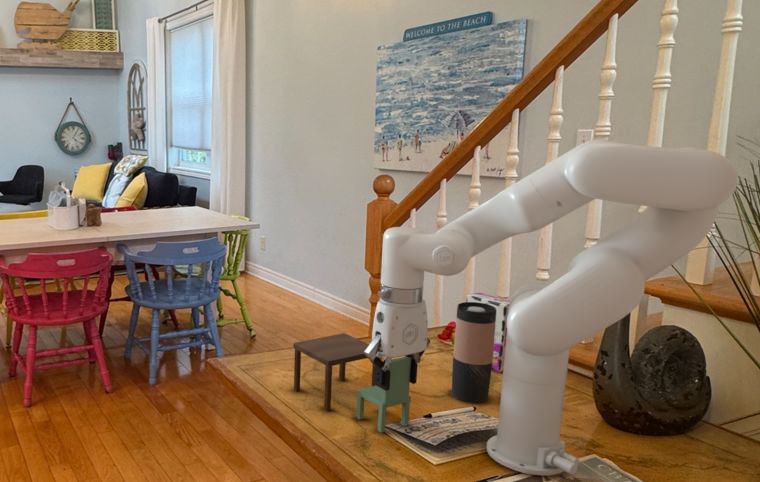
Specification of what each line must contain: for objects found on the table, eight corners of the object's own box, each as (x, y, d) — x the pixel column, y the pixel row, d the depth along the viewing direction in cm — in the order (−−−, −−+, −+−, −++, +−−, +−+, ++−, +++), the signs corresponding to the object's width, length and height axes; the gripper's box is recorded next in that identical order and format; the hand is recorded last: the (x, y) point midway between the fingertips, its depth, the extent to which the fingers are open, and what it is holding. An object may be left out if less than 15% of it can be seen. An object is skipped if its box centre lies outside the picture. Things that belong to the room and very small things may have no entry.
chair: (409, 425, 124) (413, 357, 121) (381, 433, 121) (384, 364, 118) (382, 410, 130) (386, 345, 128) (355, 417, 127) (358, 351, 125)
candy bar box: (514, 369, 151) (520, 303, 147) (499, 373, 148) (505, 305, 145) (475, 354, 161) (480, 291, 157) (460, 357, 158) (465, 294, 155)
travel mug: (490, 393, 138) (498, 304, 134) (487, 406, 132) (495, 314, 128) (453, 385, 142) (459, 300, 138) (447, 399, 135) (454, 309, 132)
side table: (379, 398, 136) (381, 349, 134) (326, 411, 130) (328, 361, 128) (342, 378, 147) (344, 332, 145) (292, 389, 141) (293, 342, 139)
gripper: (379, 305, 111) (374, 401, 114) (450, 292, 118) (444, 383, 122) (351, 294, 118) (347, 385, 121) (420, 283, 125) (414, 369, 128)
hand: (395, 383), depth 121 cm, fingers closed on chair, 6 cm apart
